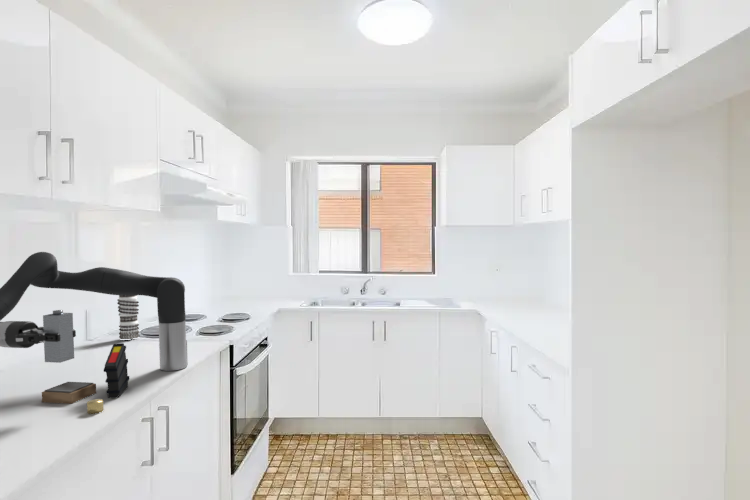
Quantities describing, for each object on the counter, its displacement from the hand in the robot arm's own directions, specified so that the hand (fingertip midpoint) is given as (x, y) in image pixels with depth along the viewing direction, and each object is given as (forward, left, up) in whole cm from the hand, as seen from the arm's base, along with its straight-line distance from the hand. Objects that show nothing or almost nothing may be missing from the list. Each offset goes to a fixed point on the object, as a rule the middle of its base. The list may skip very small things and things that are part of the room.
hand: (66, 335), depth 142 cm
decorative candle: (-92, -49, -21) cm, 106 cm away
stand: (-10, -9, -21) cm, 25 cm away
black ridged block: (-15, +3, -21) cm, 27 cm away
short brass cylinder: (0, +8, -21) cm, 23 cm away
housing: (0, -3, -7) cm, 7 cm away
